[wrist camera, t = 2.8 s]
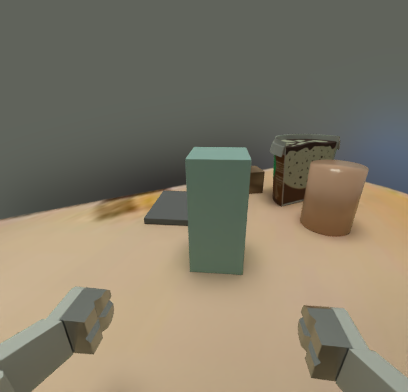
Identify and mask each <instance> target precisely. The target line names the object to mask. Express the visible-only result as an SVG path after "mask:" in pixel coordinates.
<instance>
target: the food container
mask: <svg viewBox="0 0 408 392" xmlns="http://www.w3.org/2000/svg"><path fill="white" fill-rule="evenodd" d="M339 139H340V137H339V136H331V135H317V134H289V135H280V136H276V137H275V140H274V141H273V143H272V146H271V149H270V152H271V153H272V154H274V173H273V200H274V201H275V202H276V203H277V204H278V205H280V206H281V207H282V206H286V205H290V204H294V203H298V202H302V201H304V195H305V190H306V185H307V179H308V174H309V169H310V163H311V162H312V161H315V160H334V157H335V153H336V150H337V149H339V147H340V141H339Z"/></svg>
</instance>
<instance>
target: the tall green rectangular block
mask: <svg viewBox="0 0 408 392" xmlns="http://www.w3.org/2000/svg"><path fill="white" fill-rule="evenodd" d="M185 160H186V183H187V209H188V233H189V258H190V272H205V273H222V274H238V275H242V274H243V262H244V249H245V236H246V223H247V210H248V198H249V185H250V172H251V158H250V156H249V154H248V151H247V149H246V148H233V147H232V148H231V147H230V148H229V147H194V148H193V150H192V151H191V152H190V154H189V155H188V156H187V158H186V159H185Z"/></svg>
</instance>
